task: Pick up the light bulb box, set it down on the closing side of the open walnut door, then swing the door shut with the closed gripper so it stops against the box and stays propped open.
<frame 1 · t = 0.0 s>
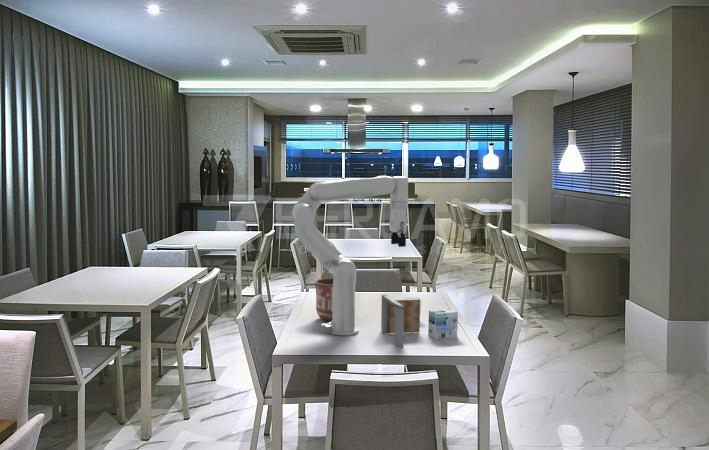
hand: (398, 245, 262), 37 cm above the table, tool pointing down, fingers open, 9 cm apart
pottery: (334, 319, 282), on the table
door: (403, 316, 258), point 7 cm above the table, hinge at 85.0°
white cup: (412, 320, 282), on the table
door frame: (391, 338, 251), on the table
light bulb box: (442, 336, 255), on the table
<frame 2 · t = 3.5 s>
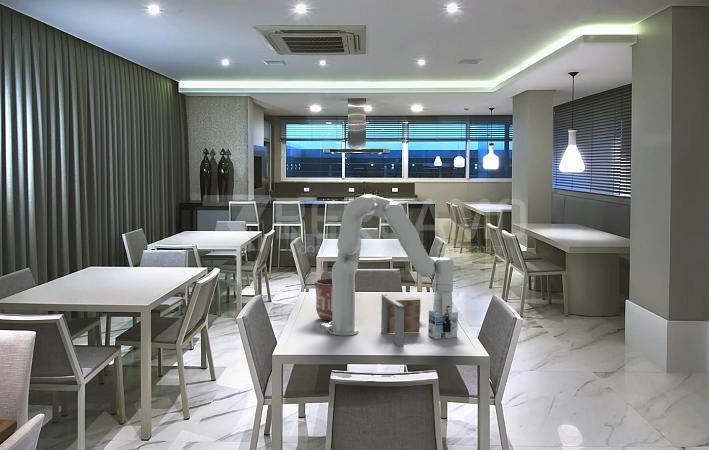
hand: (442, 329, 254), 3 cm above the table, tool pointing down, fingers closed on light bulb box, 7 cm apart
light bulb box: (442, 336, 255), on the table, touching gripper
everything else where it was.
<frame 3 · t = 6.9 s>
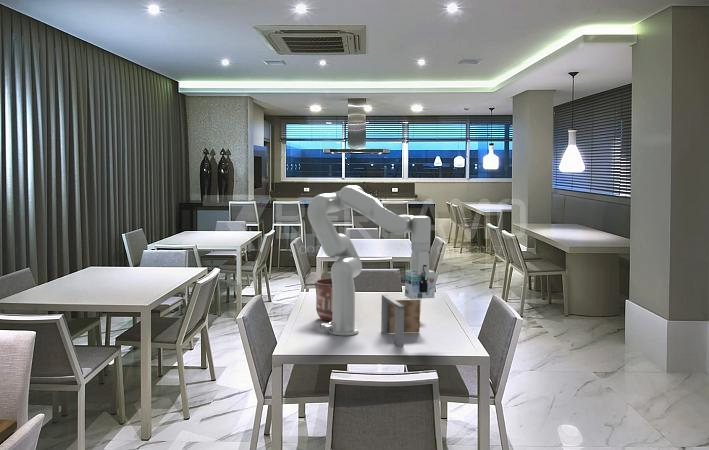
hand: (419, 290, 246), 21 cm above the table, tool pointing down, fingers closed on light bulb box, 7 cm apart
light bulb box: (419, 297, 246), point 18 cm above the table, touching gripper
everything else where it was.
when the fingers open (4 cm above the table, at t = 10.4 s): light bulb box stays where it is, on the table.
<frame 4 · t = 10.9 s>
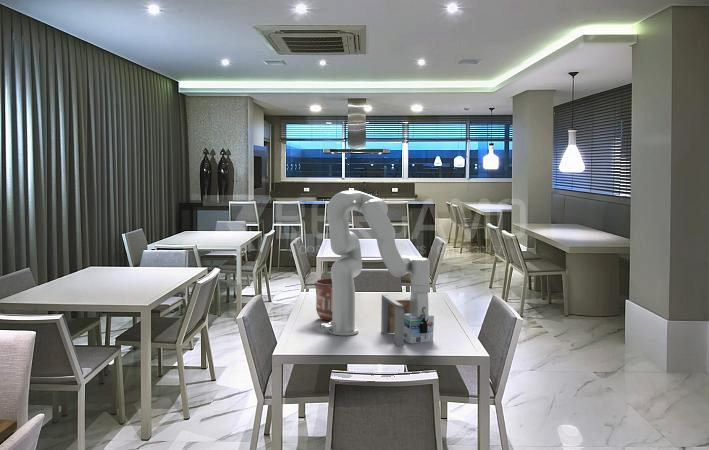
hand: (419, 330, 248), 4 cm above the table, tool pointing down, fingers open, 9 cm apart
light bulb box: (418, 341, 248), on the table
everything else where it was.
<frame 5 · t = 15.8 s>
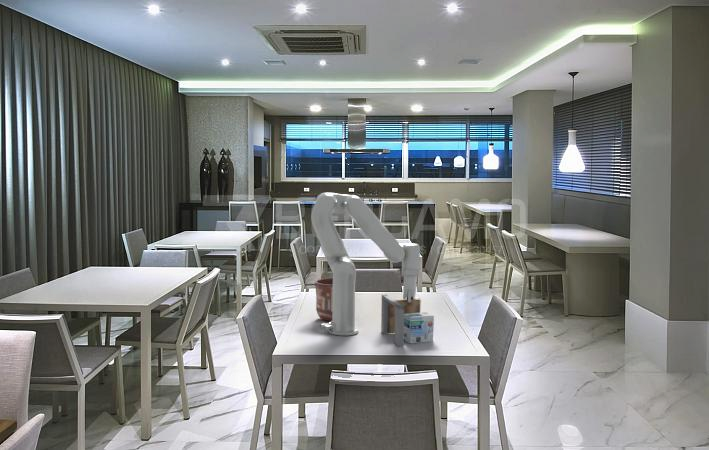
hand: (409, 314, 263), 7 cm above the table, tool pointing down, fingers closed
door: (403, 316, 258), point 7 cm above the table, hinge at 84.8°, touching gripper
everything else where it was.
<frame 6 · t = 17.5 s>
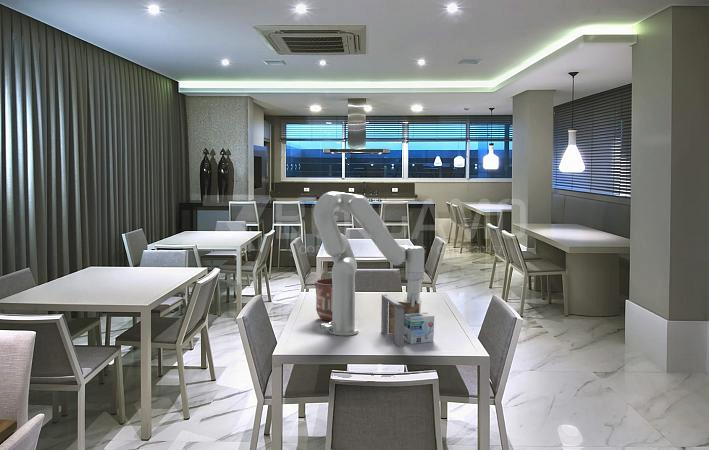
hand: (413, 318, 256), 7 cm above the table, tool pointing down, fingers closed
door: (403, 318, 254), point 7 cm above the table, hinge at 45.9°, touching gripper, light bulb box
light bulb box: (418, 341, 247), on the table, touching door
everything else where it was.
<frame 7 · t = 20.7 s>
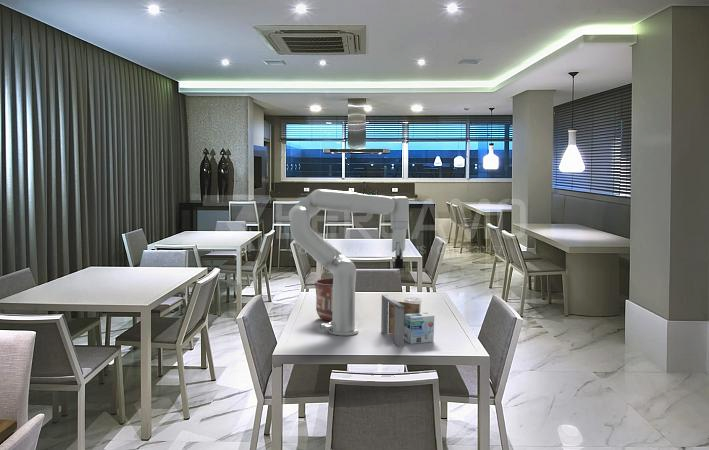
hand: (398, 267, 262), 27 cm above the table, tool pointing down, fingers closed
door: (403, 318, 254), point 7 cm above the table, hinge at 46.3°, touching light bulb box
everything else where it was.
at the end: door at +46° (first picture: +85°); light bulb box inside the target area (0.3 cm from its centre), on the table; light bulb box tilted 0° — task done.
